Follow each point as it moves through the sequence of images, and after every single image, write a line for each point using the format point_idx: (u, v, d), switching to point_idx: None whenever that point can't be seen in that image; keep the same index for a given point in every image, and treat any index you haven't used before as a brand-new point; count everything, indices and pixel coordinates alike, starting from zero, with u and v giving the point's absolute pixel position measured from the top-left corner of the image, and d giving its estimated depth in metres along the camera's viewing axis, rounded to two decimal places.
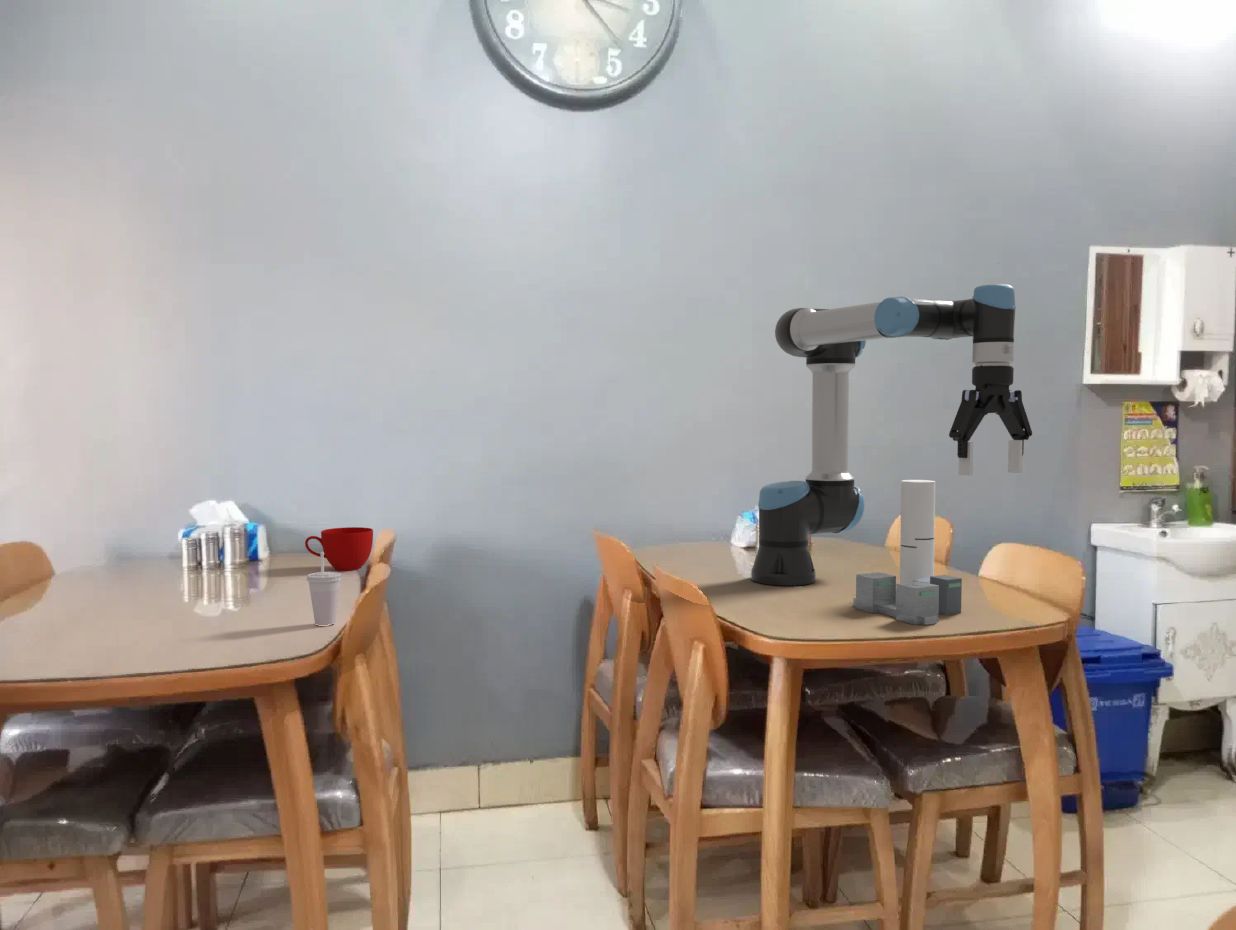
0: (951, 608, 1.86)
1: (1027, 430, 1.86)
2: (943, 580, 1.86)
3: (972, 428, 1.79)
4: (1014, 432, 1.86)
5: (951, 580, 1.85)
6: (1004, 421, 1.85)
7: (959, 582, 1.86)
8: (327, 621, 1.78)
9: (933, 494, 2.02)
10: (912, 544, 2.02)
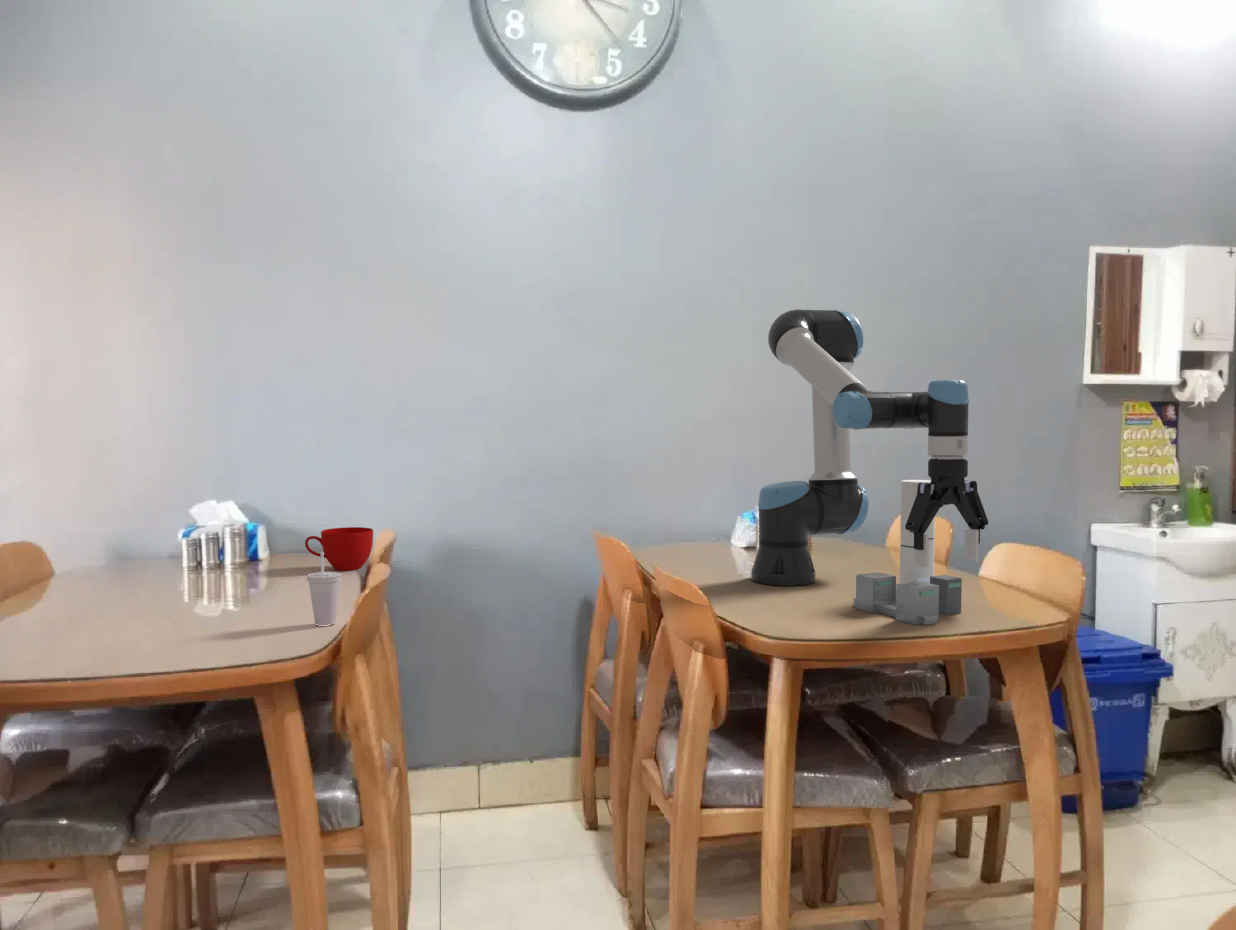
0: (951, 608, 1.86)
1: (983, 519, 1.90)
2: (943, 580, 1.86)
3: (927, 521, 1.83)
4: (970, 521, 1.90)
5: (951, 580, 1.85)
6: (960, 511, 1.89)
7: (959, 582, 1.86)
8: (327, 621, 1.78)
9: None
10: (912, 544, 2.02)
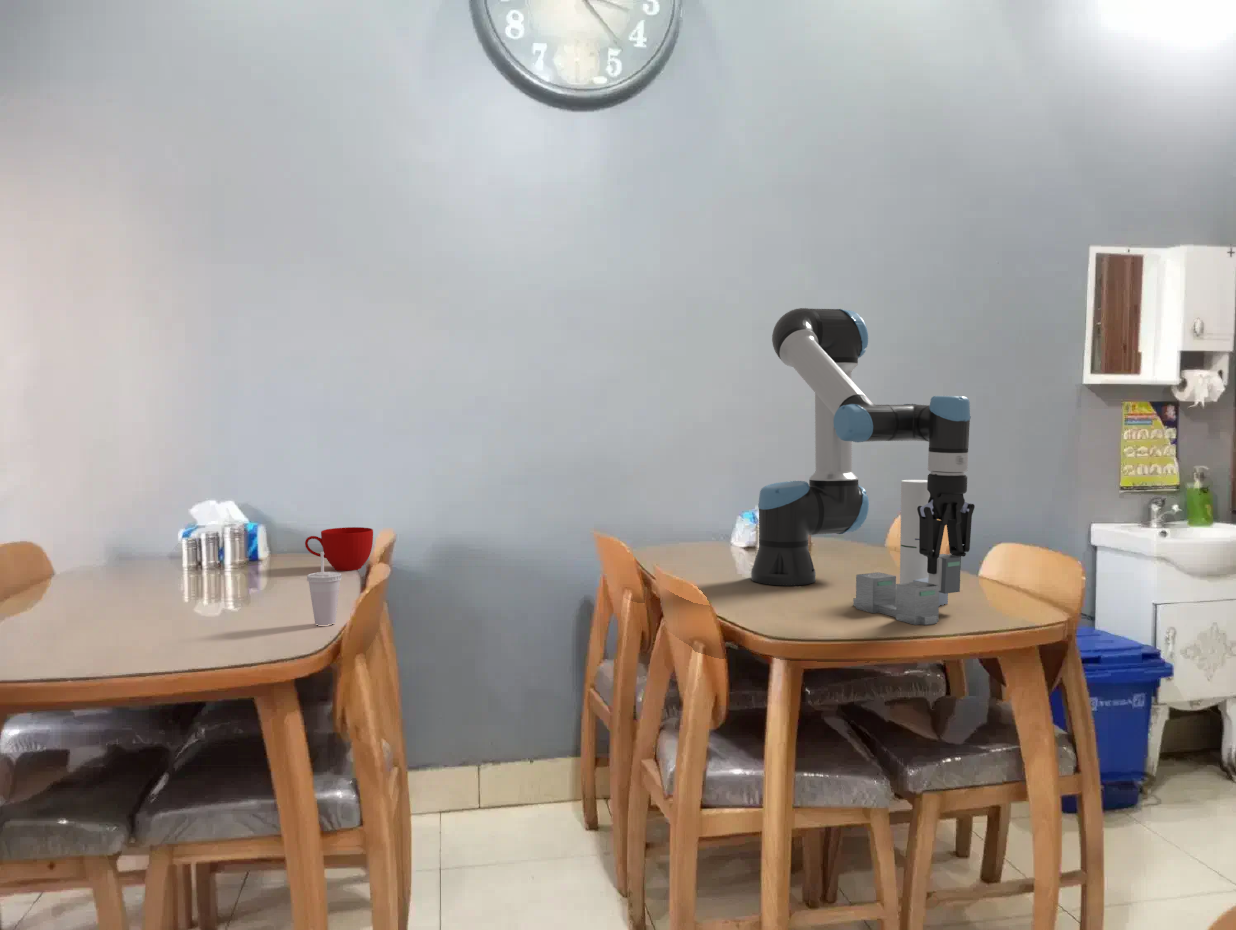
0: (949, 587, 1.86)
1: (966, 545, 1.89)
2: (942, 559, 1.86)
3: (938, 544, 1.85)
4: (954, 545, 1.89)
5: (950, 559, 1.86)
6: (949, 531, 1.89)
7: (958, 561, 1.87)
8: (327, 621, 1.78)
9: None
10: (912, 544, 2.02)
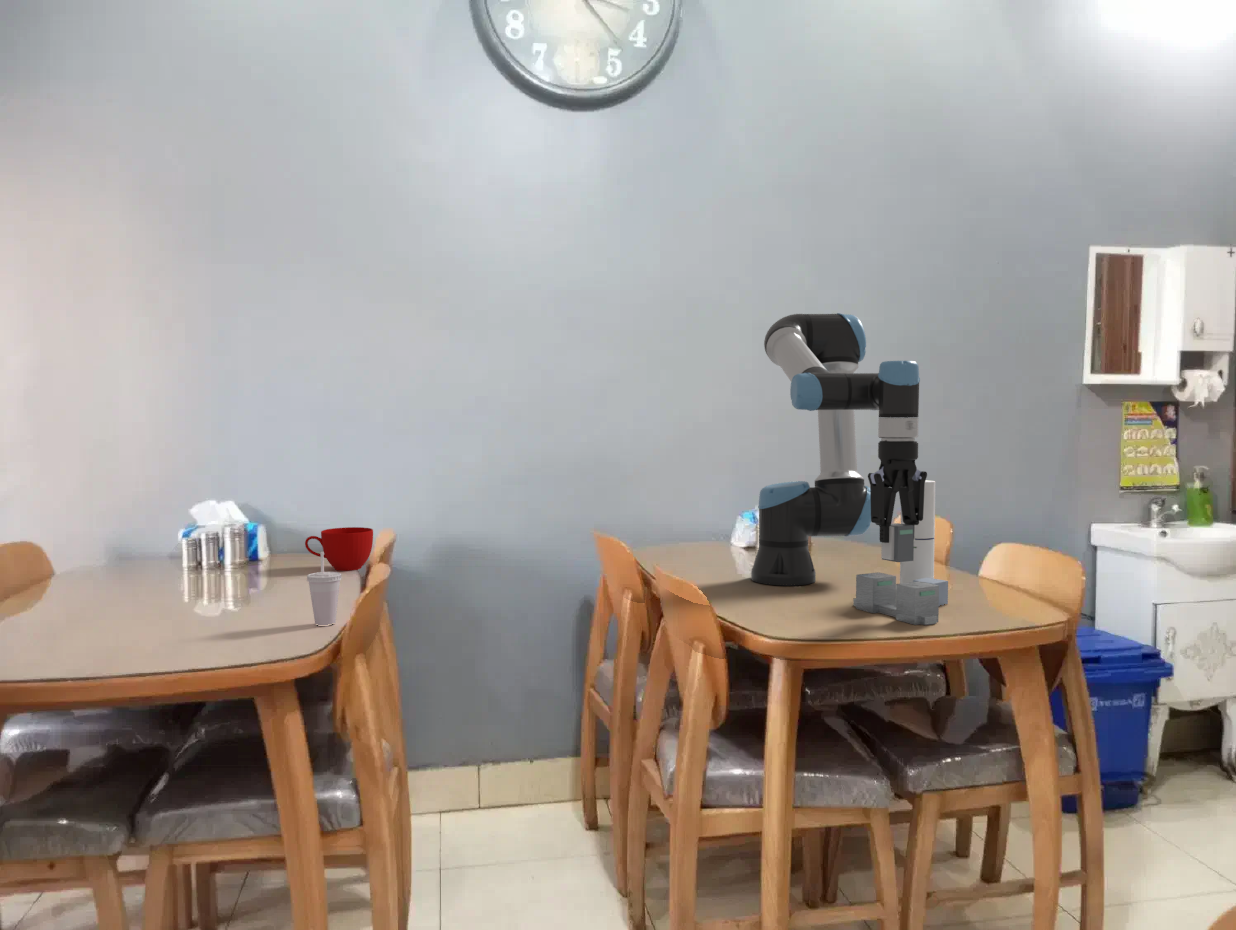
0: (902, 555, 1.82)
1: (919, 513, 1.85)
2: (894, 527, 1.82)
3: (889, 512, 1.82)
4: (907, 514, 1.85)
5: (902, 527, 1.82)
6: (901, 499, 1.85)
7: (911, 529, 1.83)
8: (327, 621, 1.78)
9: (933, 494, 2.02)
10: None
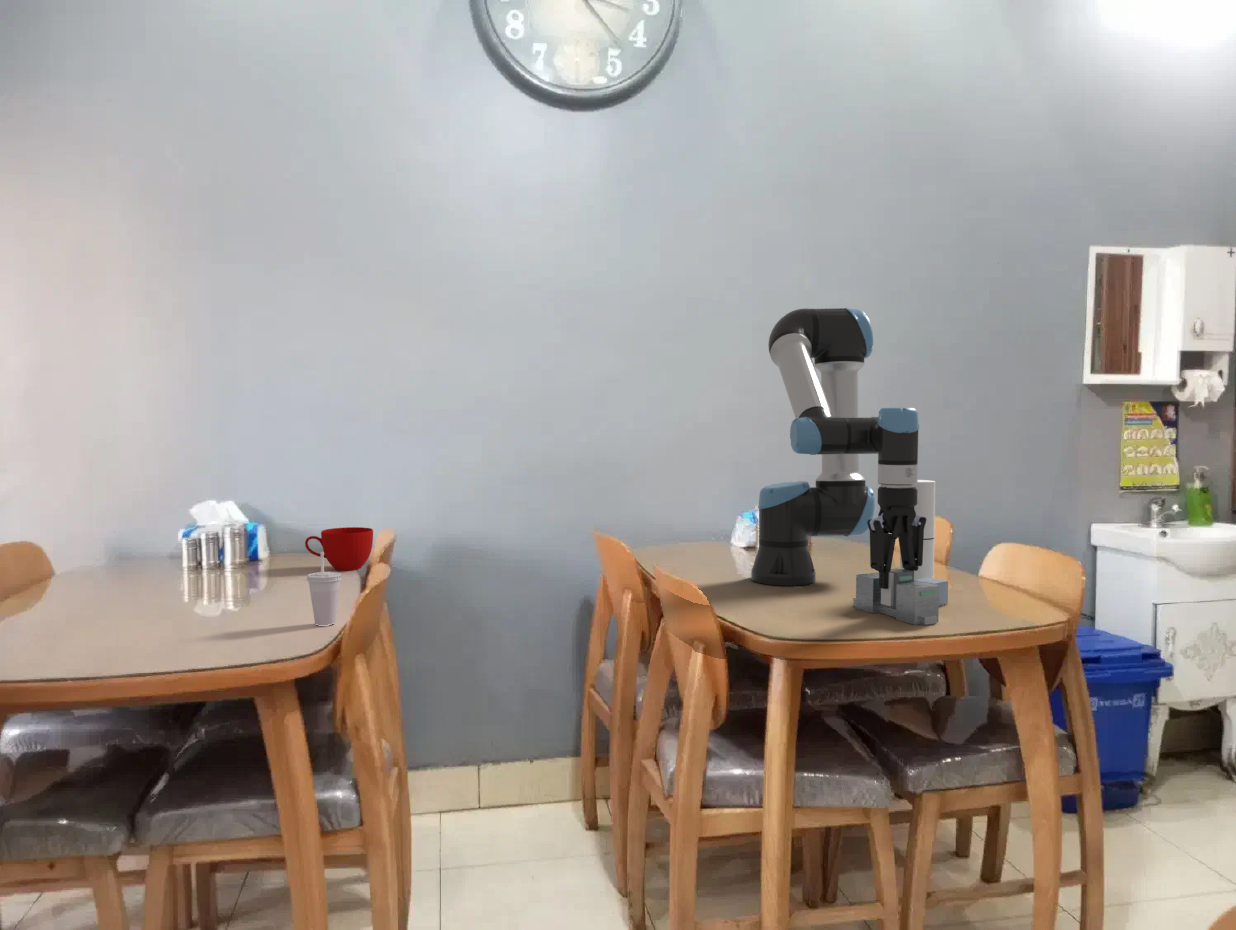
0: None
1: (918, 559, 1.86)
2: (894, 573, 1.82)
3: (889, 558, 1.82)
4: (906, 559, 1.85)
5: (902, 573, 1.82)
6: (901, 545, 1.86)
7: (910, 575, 1.83)
8: (327, 621, 1.78)
9: (933, 494, 2.02)
10: None
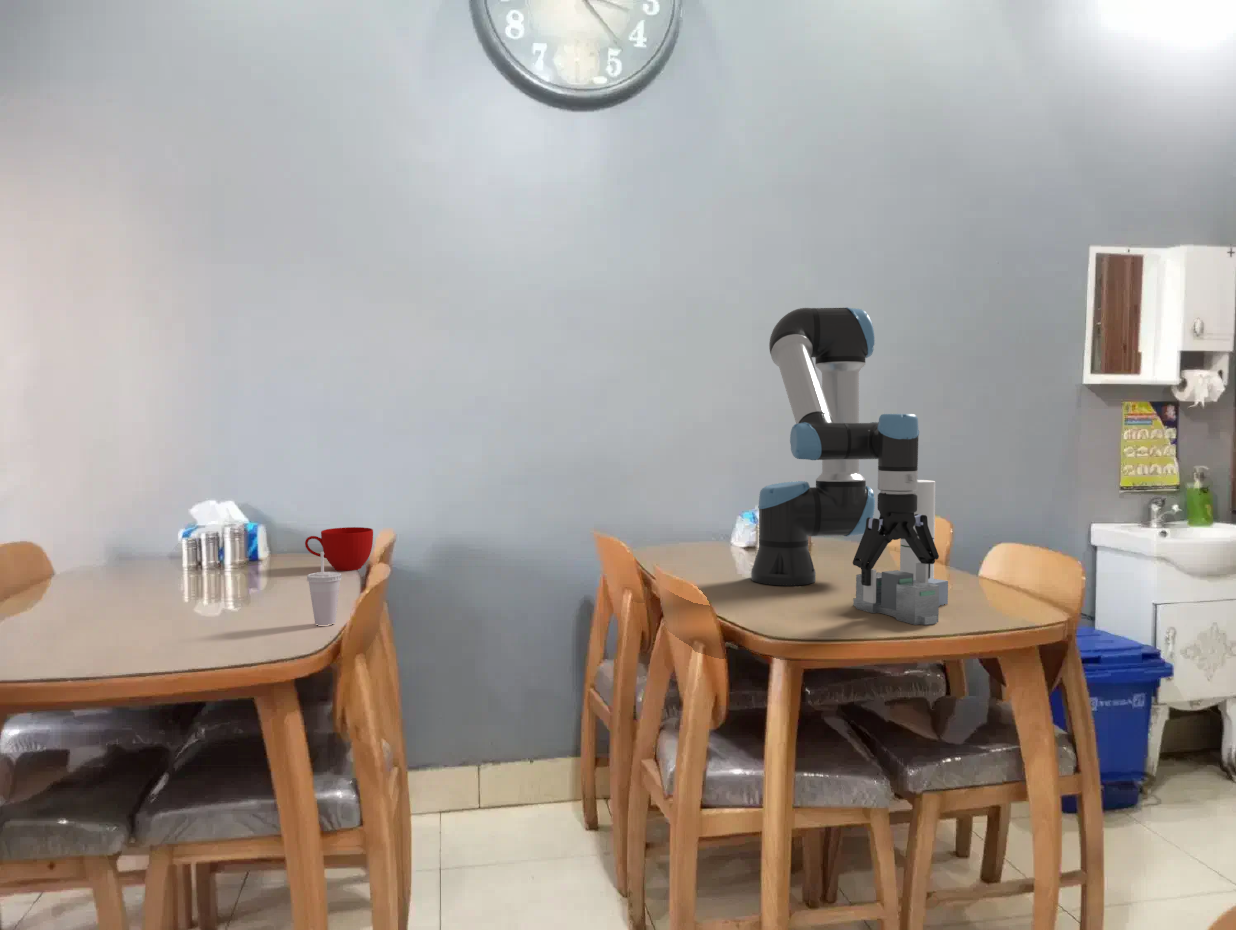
0: None
1: (933, 554, 1.88)
2: (894, 575, 1.82)
3: (875, 556, 1.81)
4: (920, 556, 1.87)
5: (902, 575, 1.82)
6: (910, 545, 1.87)
7: (910, 577, 1.83)
8: (327, 621, 1.78)
9: (933, 494, 2.02)
10: None
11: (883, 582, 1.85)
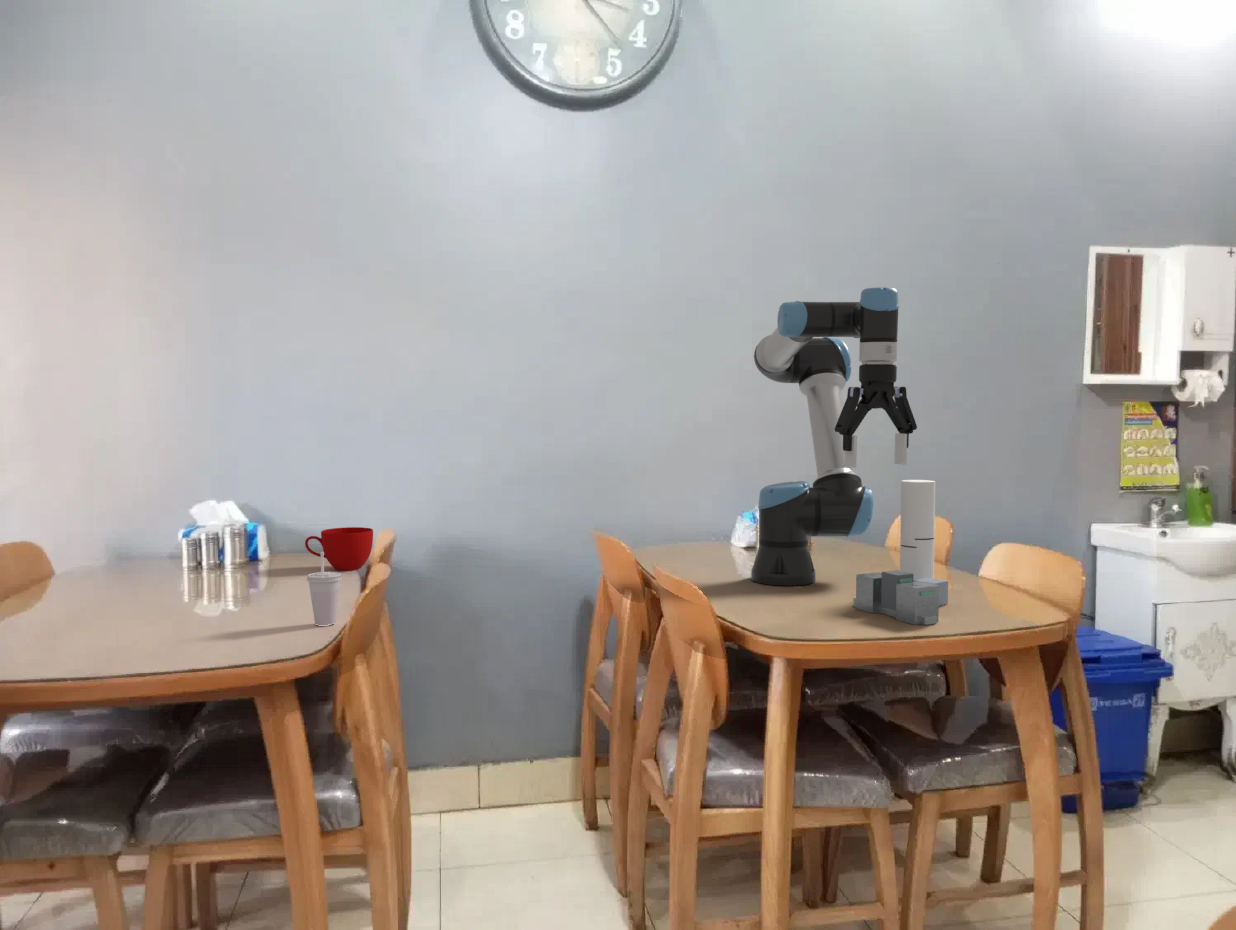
0: None
1: (912, 424, 1.98)
2: (894, 575, 1.82)
3: (856, 423, 1.91)
4: (899, 426, 1.97)
5: (902, 575, 1.82)
6: (890, 416, 1.97)
7: (910, 577, 1.83)
8: (327, 621, 1.78)
9: (933, 494, 2.02)
10: (912, 544, 2.02)
11: (883, 582, 1.85)
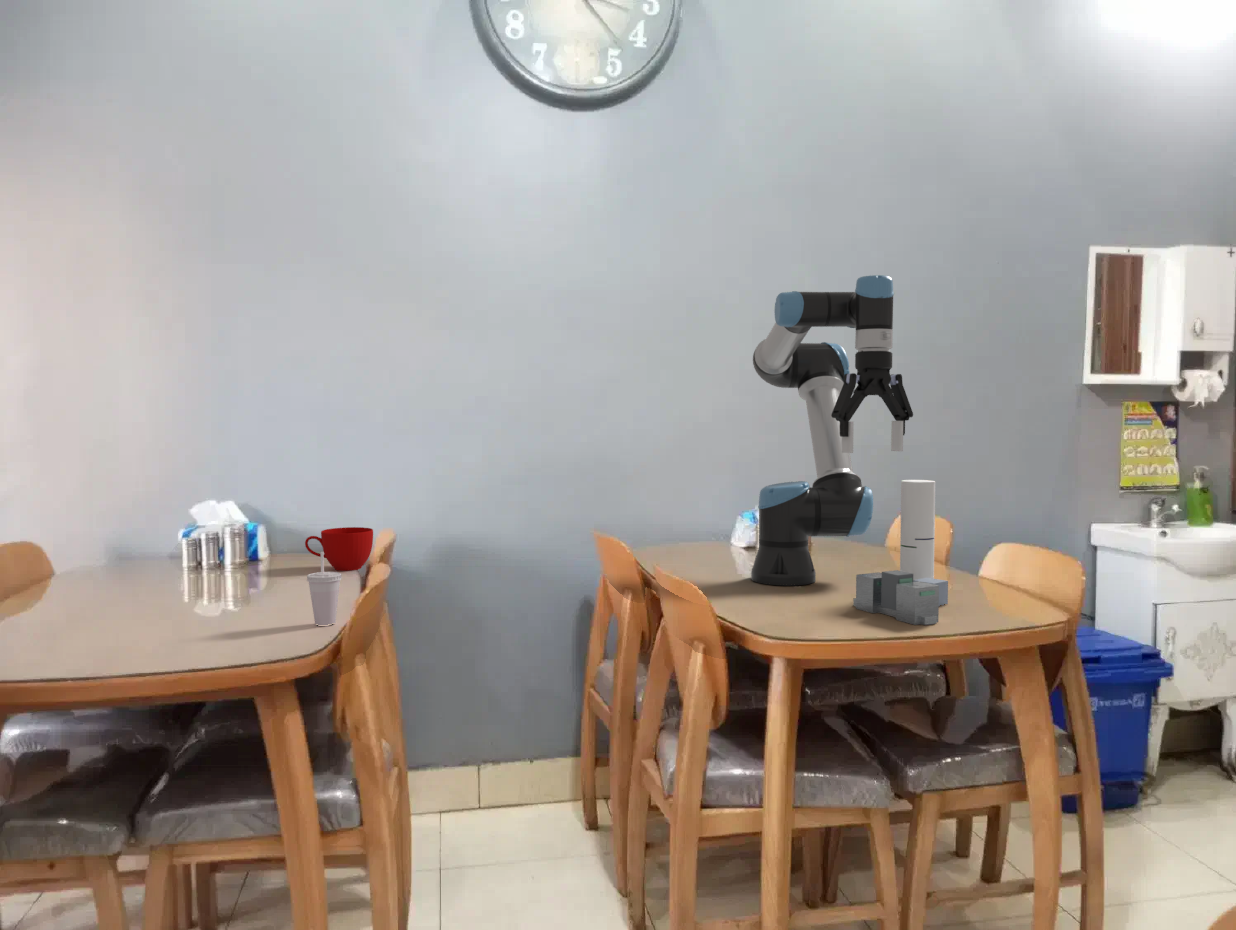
0: None
1: (908, 411, 1.99)
2: (894, 575, 1.82)
3: (852, 409, 1.92)
4: (896, 413, 1.99)
5: (902, 575, 1.82)
6: (886, 403, 1.99)
7: (910, 577, 1.83)
8: (327, 621, 1.78)
9: (933, 494, 2.02)
10: (912, 544, 2.02)
11: (883, 582, 1.85)
